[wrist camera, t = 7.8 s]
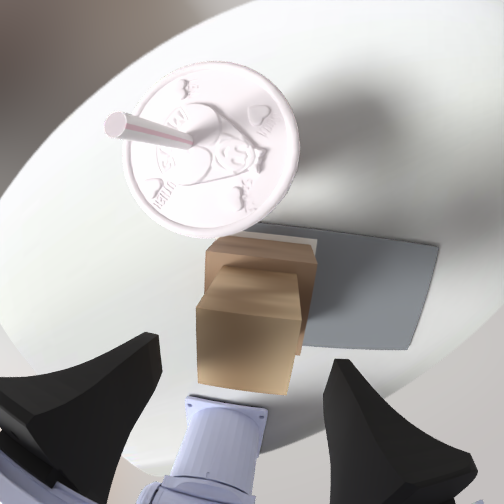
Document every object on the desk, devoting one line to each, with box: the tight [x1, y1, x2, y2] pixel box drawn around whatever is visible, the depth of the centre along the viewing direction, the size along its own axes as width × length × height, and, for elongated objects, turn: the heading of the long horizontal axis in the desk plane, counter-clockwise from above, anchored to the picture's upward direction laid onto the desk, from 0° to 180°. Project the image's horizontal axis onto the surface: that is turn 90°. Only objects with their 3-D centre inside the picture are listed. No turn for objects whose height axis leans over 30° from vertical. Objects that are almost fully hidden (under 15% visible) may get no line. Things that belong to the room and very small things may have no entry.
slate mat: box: [215, 223, 439, 350], centre depth 20 cm, size 9×16×1 cm, turn 85°
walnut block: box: [204, 236, 317, 355], centre depth 18 cm, size 6×6×4 cm
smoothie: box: [104, 61, 301, 238], centre depth 11 cm, size 6×6×14 cm
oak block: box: [196, 266, 302, 395], centre depth 13 cm, size 4×4×5 cm
